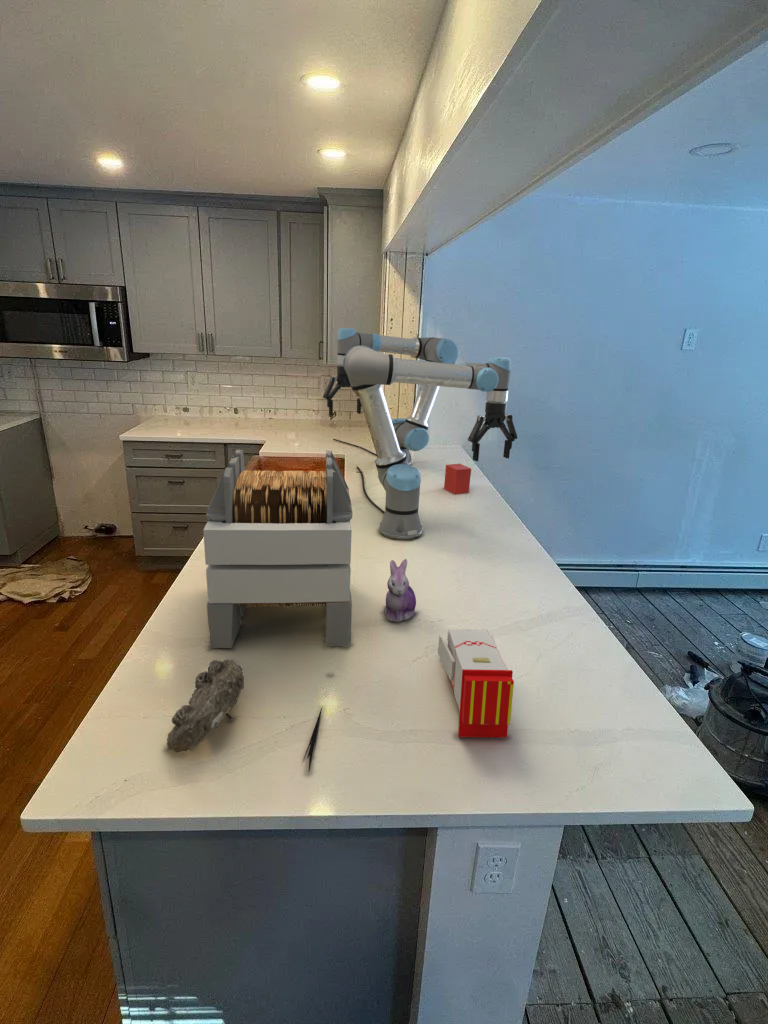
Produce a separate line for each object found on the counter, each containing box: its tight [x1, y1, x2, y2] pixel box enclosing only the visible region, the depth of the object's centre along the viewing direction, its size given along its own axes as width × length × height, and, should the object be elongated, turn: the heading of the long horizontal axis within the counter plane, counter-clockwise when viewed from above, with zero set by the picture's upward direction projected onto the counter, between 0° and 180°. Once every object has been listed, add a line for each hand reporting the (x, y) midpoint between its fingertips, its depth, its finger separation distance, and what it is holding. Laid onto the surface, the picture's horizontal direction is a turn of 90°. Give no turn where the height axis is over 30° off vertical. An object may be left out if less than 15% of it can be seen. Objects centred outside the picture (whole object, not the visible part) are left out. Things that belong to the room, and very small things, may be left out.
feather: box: [301, 673, 332, 771], centre depth 108 cm, size 2×28×2 cm
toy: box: [437, 628, 515, 738], centre depth 117 cm, size 12×13×30 cm
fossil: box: [166, 658, 245, 754], centre depth 106 cm, size 22×10×15 cm
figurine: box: [384, 558, 417, 623], centre depth 145 cm, size 9×10×15 cm
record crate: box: [202, 448, 353, 650], centre depth 139 cm, size 34×33×41 cm
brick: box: [443, 463, 472, 495], centre depth 249 cm, size 9×7×11 cm
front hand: (490, 459), depth 212 cm, fingers open, 13 cm apart
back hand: (344, 414), depth 254 cm, fingers open, 13 cm apart
